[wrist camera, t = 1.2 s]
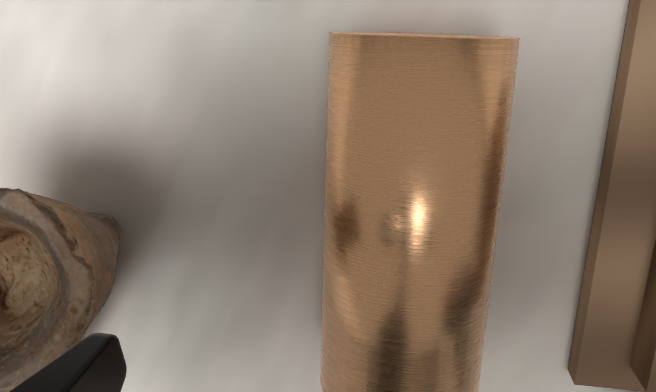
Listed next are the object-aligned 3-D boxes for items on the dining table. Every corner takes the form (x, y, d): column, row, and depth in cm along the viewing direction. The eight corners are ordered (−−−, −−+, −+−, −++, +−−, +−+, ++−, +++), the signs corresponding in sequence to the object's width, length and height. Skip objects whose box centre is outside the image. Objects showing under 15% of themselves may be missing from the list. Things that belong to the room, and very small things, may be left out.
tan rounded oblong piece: (457, 340, 24) (497, 433, 18) (320, 337, 24) (320, 431, 18) (489, 35, 20) (549, 40, 15) (328, 30, 20) (331, 35, 15)
